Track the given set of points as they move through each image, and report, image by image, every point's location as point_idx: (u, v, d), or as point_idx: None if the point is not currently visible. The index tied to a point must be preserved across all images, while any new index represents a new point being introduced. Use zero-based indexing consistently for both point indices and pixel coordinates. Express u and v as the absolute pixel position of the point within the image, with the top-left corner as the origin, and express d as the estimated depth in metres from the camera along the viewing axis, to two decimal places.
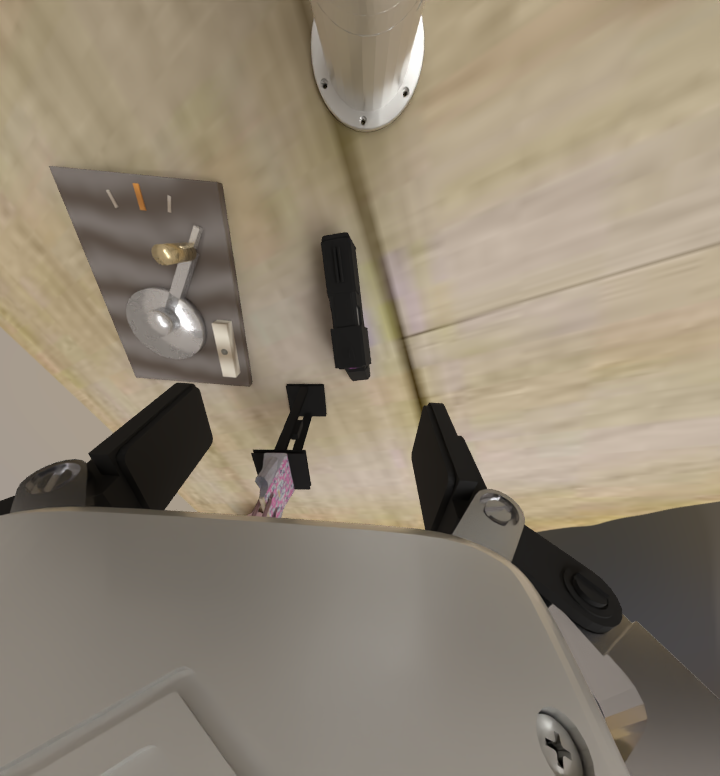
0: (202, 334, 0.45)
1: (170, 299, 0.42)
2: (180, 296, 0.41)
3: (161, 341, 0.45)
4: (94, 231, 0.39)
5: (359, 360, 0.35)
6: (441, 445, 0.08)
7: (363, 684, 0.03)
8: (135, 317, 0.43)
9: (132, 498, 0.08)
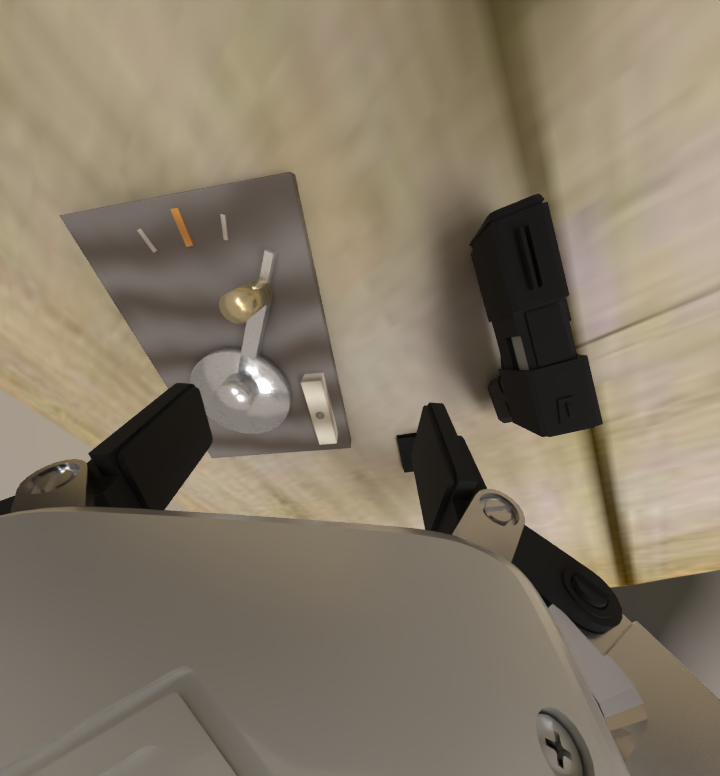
0: (288, 398, 0.32)
1: (244, 362, 0.30)
2: (256, 355, 0.29)
3: None
4: (133, 292, 0.28)
5: (590, 418, 0.20)
6: (441, 445, 0.08)
7: (363, 684, 0.03)
8: (202, 393, 0.32)
9: (132, 498, 0.08)
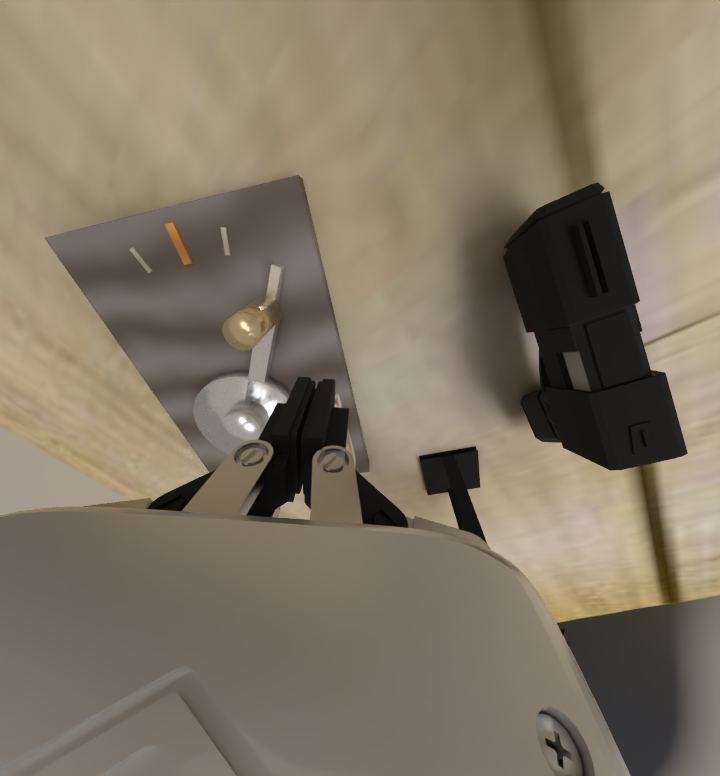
0: None
1: (251, 387, 0.27)
2: (264, 379, 0.26)
3: None
4: (128, 316, 0.25)
5: (672, 447, 0.16)
6: (311, 411, 0.09)
7: (363, 684, 0.03)
8: (207, 422, 0.29)
9: (290, 475, 0.09)
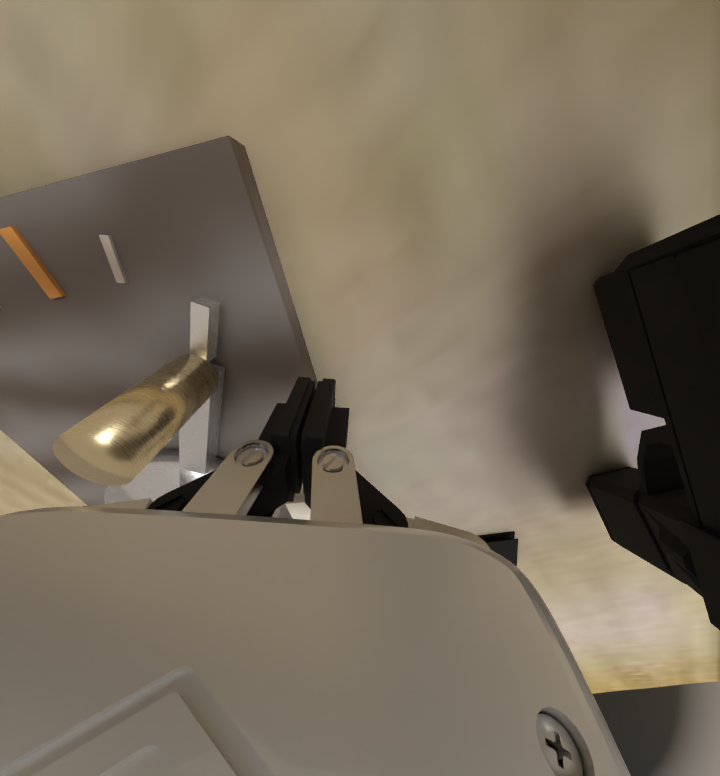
0: None
1: (187, 479, 0.17)
2: (205, 468, 0.17)
3: None
4: None
5: None
6: (311, 411, 0.09)
7: (363, 684, 0.03)
8: None
9: (290, 475, 0.09)
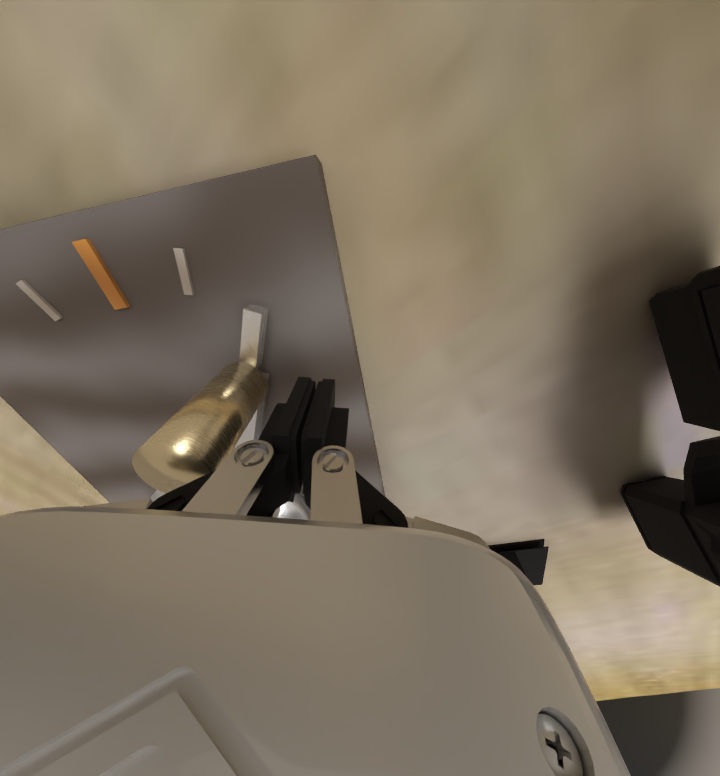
0: None
1: None
2: None
3: None
4: (34, 384, 0.16)
5: None
6: (311, 411, 0.09)
7: (363, 684, 0.03)
8: None
9: (290, 476, 0.09)
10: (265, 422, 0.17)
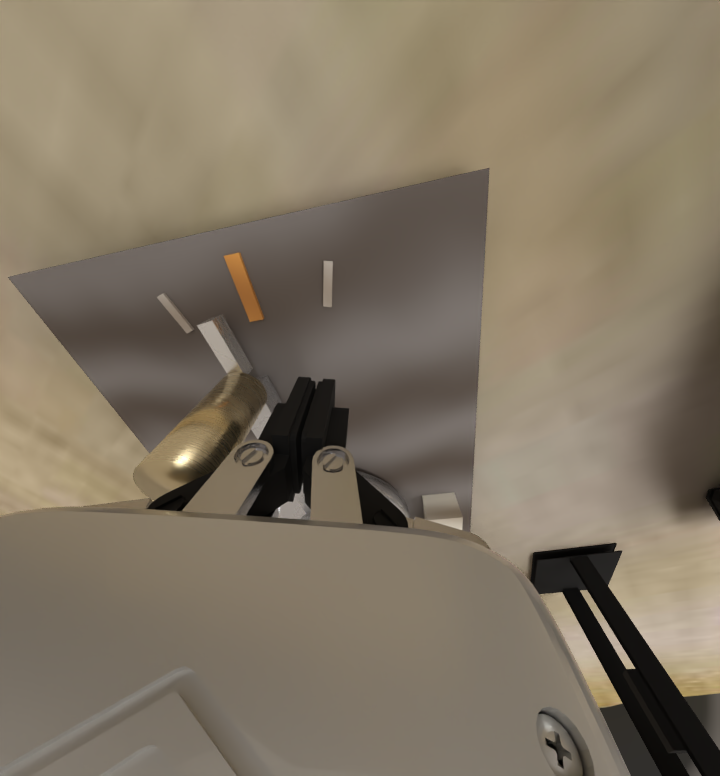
0: (398, 507, 0.18)
1: (302, 497, 0.18)
2: None
3: None
4: (148, 395, 0.16)
5: None
6: (311, 411, 0.09)
7: (363, 684, 0.03)
8: None
9: (290, 475, 0.09)
10: (371, 430, 0.17)
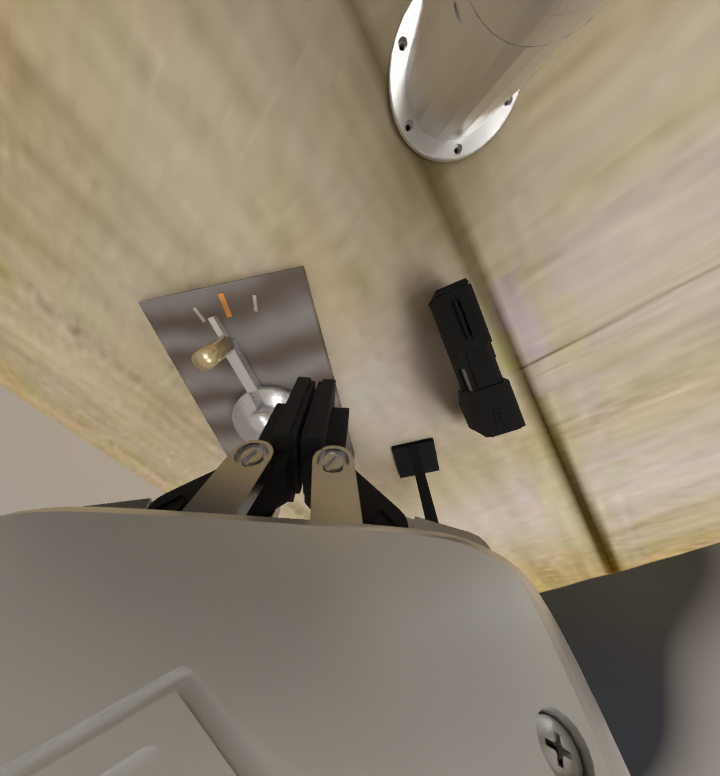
0: None
1: (253, 397, 0.39)
2: (256, 387, 0.38)
3: None
4: (185, 350, 0.37)
5: (516, 422, 0.28)
6: (311, 411, 0.09)
7: (363, 684, 0.03)
8: (250, 436, 0.42)
9: (290, 475, 0.09)
10: (282, 365, 0.38)
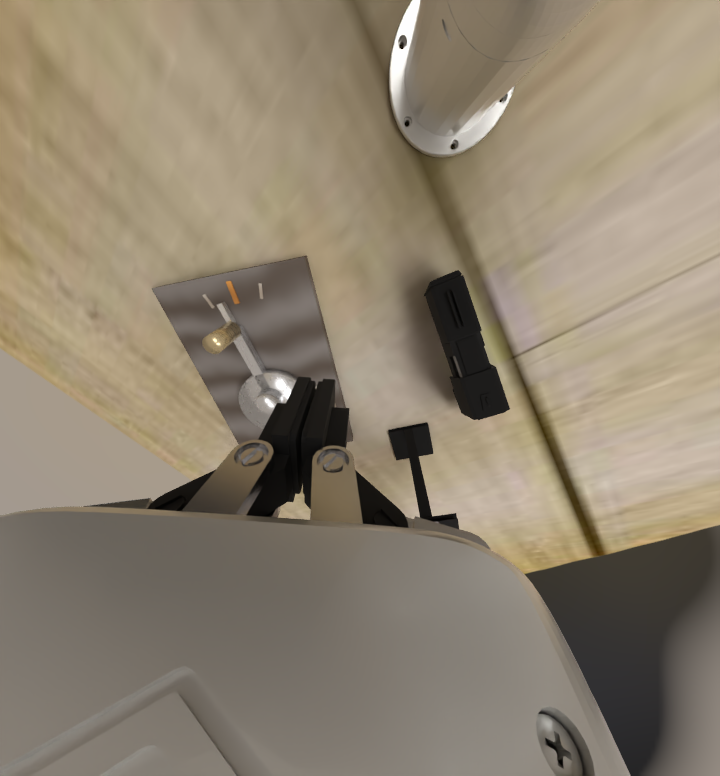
0: None
1: (258, 380, 0.41)
2: (261, 371, 0.41)
3: None
4: (195, 334, 0.40)
5: (501, 406, 0.31)
6: (311, 411, 0.09)
7: (363, 684, 0.03)
8: (255, 417, 0.45)
9: (290, 475, 0.09)
10: (286, 350, 0.41)
